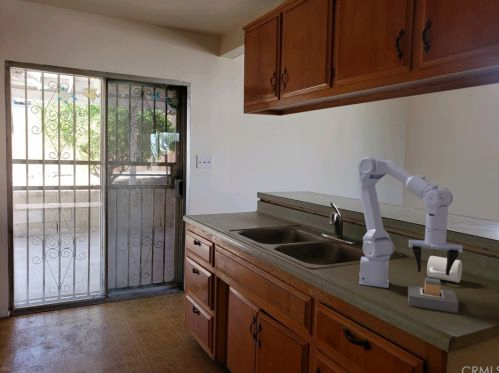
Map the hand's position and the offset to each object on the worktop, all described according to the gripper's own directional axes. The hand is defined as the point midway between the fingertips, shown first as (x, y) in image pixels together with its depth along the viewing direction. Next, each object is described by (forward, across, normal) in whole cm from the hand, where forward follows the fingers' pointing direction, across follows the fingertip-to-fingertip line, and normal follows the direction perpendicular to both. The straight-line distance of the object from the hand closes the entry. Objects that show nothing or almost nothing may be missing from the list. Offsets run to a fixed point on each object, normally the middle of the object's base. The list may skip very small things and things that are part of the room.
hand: (433, 272), depth 116 cm
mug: (+10, +6, +26) cm, 28 cm away
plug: (+9, 0, 0) cm, 9 cm away
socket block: (+9, 0, 0) cm, 9 cm away
